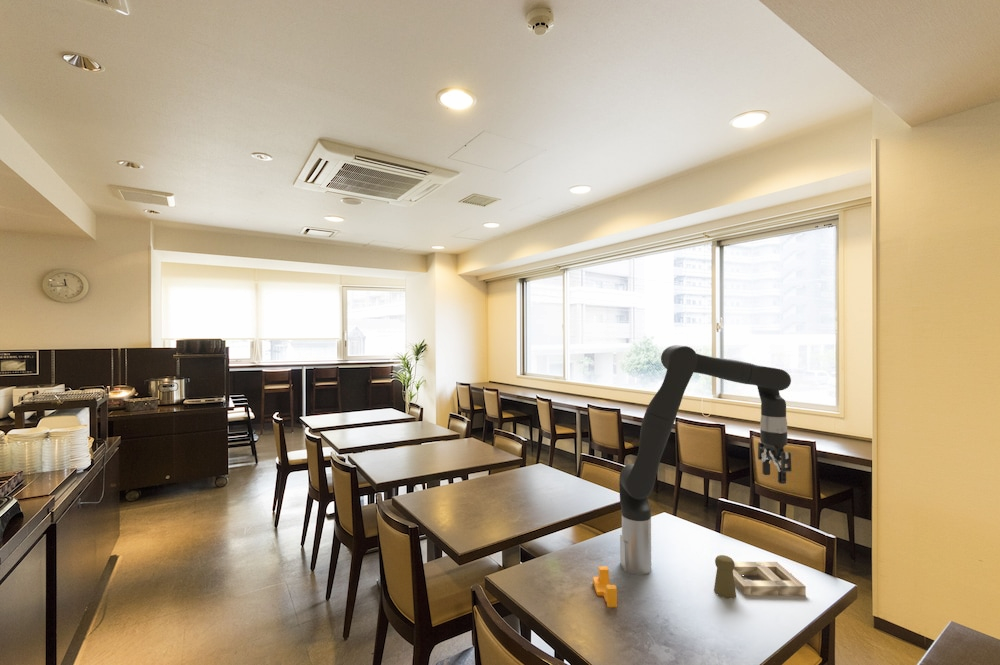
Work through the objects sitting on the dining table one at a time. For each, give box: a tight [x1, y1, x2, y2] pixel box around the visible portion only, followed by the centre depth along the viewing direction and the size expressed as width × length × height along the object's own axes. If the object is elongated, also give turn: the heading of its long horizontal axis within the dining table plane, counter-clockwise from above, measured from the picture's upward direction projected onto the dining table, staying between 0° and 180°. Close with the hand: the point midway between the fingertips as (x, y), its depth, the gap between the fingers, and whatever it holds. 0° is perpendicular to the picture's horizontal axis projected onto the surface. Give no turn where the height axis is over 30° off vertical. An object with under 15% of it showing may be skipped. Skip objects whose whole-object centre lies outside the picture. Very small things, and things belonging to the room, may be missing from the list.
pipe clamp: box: [592, 565, 618, 608], centre depth 131 cm, size 12×4×6 cm, turn 179°
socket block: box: [733, 561, 807, 597], centre depth 139 cm, size 18×14×3 cm
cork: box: [713, 554, 737, 600], centre depth 133 cm, size 6×6×11 cm
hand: (773, 478), depth 147 cm, fingers open, 8 cm apart
